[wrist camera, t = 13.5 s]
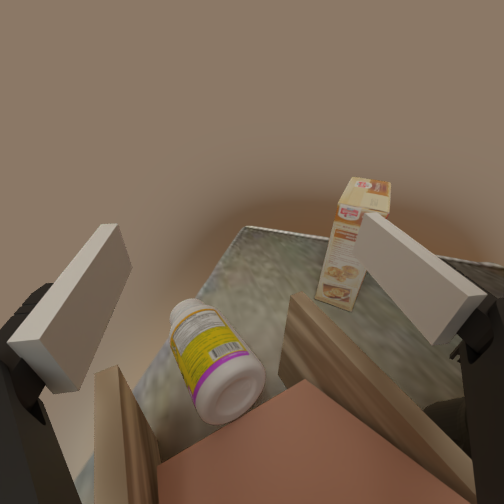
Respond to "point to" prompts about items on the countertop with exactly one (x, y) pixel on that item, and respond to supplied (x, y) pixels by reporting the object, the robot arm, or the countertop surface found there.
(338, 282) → the coffeecake box
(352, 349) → the stand
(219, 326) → the supplement bottle
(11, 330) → the robot arm
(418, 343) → the countertop surface
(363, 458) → the trapdoor
